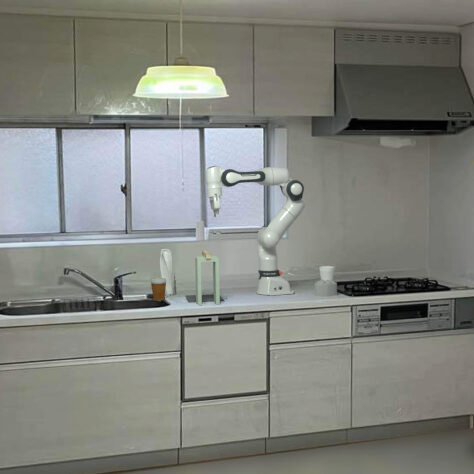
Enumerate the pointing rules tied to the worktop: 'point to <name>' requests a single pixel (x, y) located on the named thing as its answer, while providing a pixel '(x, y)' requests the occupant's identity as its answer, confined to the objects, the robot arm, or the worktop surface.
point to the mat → (204, 298)
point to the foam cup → (326, 272)
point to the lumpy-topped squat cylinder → (325, 288)
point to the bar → (206, 254)
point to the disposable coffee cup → (158, 288)
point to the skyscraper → (167, 271)
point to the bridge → (215, 278)
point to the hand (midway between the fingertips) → (216, 217)
